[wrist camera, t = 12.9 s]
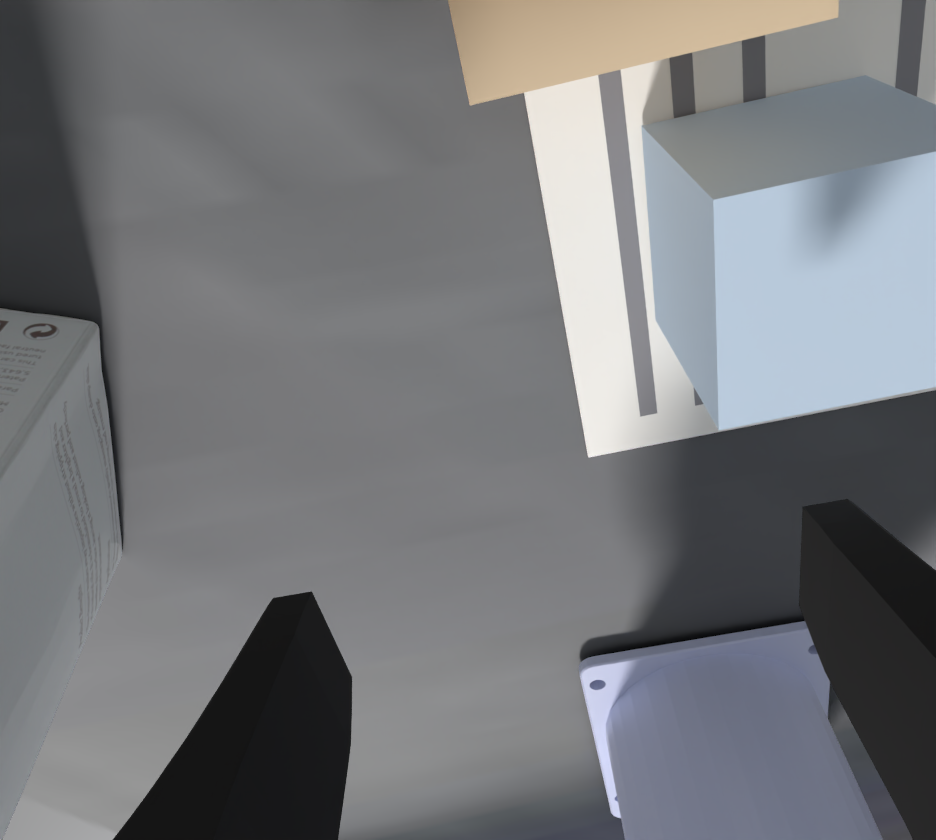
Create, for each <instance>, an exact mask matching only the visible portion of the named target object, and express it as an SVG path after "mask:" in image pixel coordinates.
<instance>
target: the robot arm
mask: <svg viewBox="0 0 936 840" xmlns="http://www.w3.org/2000/svg"><path fill="white" fill-rule="evenodd" d="M799 606H800V609H801V611H802V614H803V617H804V619H805V621H801V622H795V623H789V624H783V625H777V626H772V627H766V628H760V629H754V630H748V631H742V632H736V633H730V634H724V635H718V636H712V637H706V638H700V639H694V640H688V641H682V642H676V643H670V644H664V645H658V646H652V647H646V648H640V649H634V650H628V651H622V652H616V653H610V654H604V655H598V656H592V657H589V658H586V659H585V660H583V661H582V662H581V663H580V665H579V674H580V679H581V683H582V687H583V692H584V696H585V700H586V705H587V709H588V713H589V718H590V722H591V726H592V731H593V735H594V740H595V744H596V748H597V753H598V757H599V761H600V766H601V770H602V774H603V779H604V783H605V787H606V792H607V796H608V800H609V805H610V809H611V813H612V814H613V815H614V816H616V817H618V818H621V820H622V825H623V831H624V836H625V840H883V839H882V836H881V834H880V832H879V830H878V828H877V825H876V823H875V821H874V819H873V817H872V815H871V812H870V810H869V808H868V806H867V804H866V801H865V799H864V797H863V795H862V793H861V790H860V788H859V786H858V784H857V782H856V779H855V777H854V775H853V773H852V771H851V769H850V766H849V764H848V762H847V760H846V758H845V755H844V753H843V751H842V749H841V747H840V744H839V742H838V740H837V738H836V736H835V733H834V731H833V729H832V727H831V725H830V722H829V720H828V706H829V689H830V683H831V684H832V686H833V688H834V690H835V692H836V694H837V696H838V698H839V700H840V702H841V704H842V705H843V707H844V709H845V711H846V713H847V715H848V717H849V719H850V721H851V723H852V724H853V726H854V728H855V730H856V732H857V734H858V736H859V738H860V739H861V741H862V743H863V745H864V747H865V749H866V751H867V753H868V754H869V756H870V758H871V760H872V762H873V764H874V766H875V768H876V769H877V771H878V773H879V775H880V777H881V779H882V781H883V783H884V784H885V786H886V788H887V790H888V792H889V794H890V796H891V798H892V799H893V801H894V803H895V805H896V807H897V809H898V811H899V813H900V814H901V816H902V818H903V820H904V822H905V824H906V826H907V828H908V830H909V832H910V834H911V836H912V838H913V840H936V570H934V569H933V568H932V567H931V566H929V565H928V564H927V563H926V562H924V561H923V560H922V559H921V558H919V557H918V556H917V555H916V554H915V553H913V552H912V551H911V550H910V549H908V548H907V547H906V546H905V545H903V544H902V543H901V542H900V541H899V540H897V539H896V538H895V537H894V536H892V535H891V534H890V533H889V532H888V531H886V530H885V529H884V528H883V527H882V526H880V525H879V524H878V523H877V522H876V521H874V520H873V519H872V518H871V517H870V516H868V515H867V514H866V513H865V512H864V511H862V510H861V509H860V508H859V507H858V506H856V505H855V504H854V503H852V502H851V501H849V500H848V499H845V500H839V501H833V502H828V503H822V504H816V505H810V506H804V507H803V514H802V541H801V568H800V595H799ZM351 719H352V676H351V674H350V672H349V670H348V668H347V666H346V663H345V661H344V659H343V657H342V655H341V653H340V651H339V649H338V646H337V644H336V642H335V640H334V638H333V636H332V634H331V632H330V629H329V627H328V625H327V623H326V621H325V619H324V617H323V614H322V612H321V610H320V608H319V606H318V604H317V602H316V600H315V597H314V595H313V593H312V592H306V593H301V594H295V595H289V596H283V597H277V598H273V599H272V601H271V602H270V603H269V605H268V606H267V608H266V610H265V611H264V613H263V615H262V616H261V618H260V620H259V621H258V623H257V625H256V626H255V628H254V630H253V631H252V633H251V635H250V636H249V638H248V640H247V641H246V643H245V645H244V646H243V648H242V650H241V651H240V653H239V655H238V656H237V658H236V660H235V661H234V663H233V665H232V666H231V668H230V670H229V671H228V673H227V675H226V676H225V678H224V680H223V681H222V683H221V684H220V686H219V688H218V689H217V691H216V692H215V694H214V695H213V697H212V699H211V700H210V702H209V703H208V705H207V707H206V708H205V710H204V711H203V713H202V714H201V716H200V718H199V719H198V721H197V722H196V724H195V725H194V727H193V729H192V730H191V732H190V733H189V735H188V736H187V738H186V739H185V741H184V742H183V744H182V745H181V746H180V748H179V749H178V751H177V752H176V754H175V755H174V757H173V758H172V759H171V761H170V762H169V764H168V765H167V767H166V768H165V770H164V771H163V772H162V774H161V775H160V777H159V778H158V780H157V781H156V783H155V784H154V785H153V787H152V788H151V790H150V791H149V793H148V794H147V795H146V797H145V798H144V799H143V801H142V802H141V803H140V805H139V806H138V807H137V809H136V810H135V811H134V813H133V814H132V816H131V817H130V818H129V819H128V821H127V822H126V823H125V825H124V826H123V827H122V829H121V830H120V831H119V832H118V834H117V835H116V836H115V838H114V839H113V840H338V835H339V828H340V820H341V813H342V806H343V799H344V792H345V784H346V777H347V769H348V762H349V754H350V746H351Z"/></svg>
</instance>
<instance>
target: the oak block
mask: <svg viewBox="0 0 936 840" xmlns="http://www.w3.org/2000/svg"><path fill="white" fill-rule="evenodd" d="M448 3H449V8H450V12H451V17H452V22H453V27H454V32H455V36H456V41H457V46H458V51H459V55H460V60H461V65H462V70H463V75H464V79H465V84H466V89H467V94H468V98H469V103H470V105H474V104H478V103H482V102H487V101H491V100H495V99H499V98H503V97H508V96H512V95H516V94H520V93H524V92H528V91H533V90H537V89H541V88H545V87H549V86H554V85H558V84H562V83H566V82H570V81H574V80H579V79H583V78H587V77H591V76H595V75H600V74H604V73H608V72H612V71H616V70H621V69H625V68H629V67H633V66H637V65H641V64H646V63H650V62H654V61H658V60H662V59H667V58H671V57H675V56H679V55H683V54H687V53H692V52H696V51H700V50H704V49H708V48H713V47H717V46H721V45H725V44H729V43H734V42H738V41H742V40H746V39H750V38H754V37H759V36H763V35H767V34H771V33H775V32H780V31H784V30H788V29H792V28H796V27H800V26H805V25H809V24H813V23H817V22H821V21H826V20H830V19H834V18H838V9H839V0H448Z"/></svg>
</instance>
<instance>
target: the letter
mask: <svg viewBox="0 0 936 840" xmlns="http://www.w3.org/2000/svg"><path fill="white" fill-rule="evenodd" d="M865 75H866V76H869V77H871V78H874V79H876V80H878V81H881V82H883V83H885V84H888V85H890V86H893V87H895V88H897V89H900V90H902V91H904V92H907V93H909V94H912V95H914V96H916V97H919V98H921V99H923V100H926V101H928V102H931V103H933V104H935V105H936V0H839V9H838V18H834V19H830V20H826V21H821V22H817V23H813V24H809V25H805V26H800V27H796V28H792V29H788V30H784V31H780V32H775V33H771V34H767V35H763V36H759V37H754V38H750V39H746V40H742V41H738V42H734V43H729V44H725V45H721V46H717V47H713V48H708V49H704V50H700V51H696V52H692V53H687V54H683V55H679V56H675V57H671V58H667V59H662V60H658V61H654V62H650V63H646V64H641V65H637V66H633V67H629V68H625V69H621V70H616V71H612V72H608V73H604V74H600V75H595V76H591V77H587V78H583V79H579V80H574V81H570V82H566V83H562V84H558V85H554V86H549V87H545V88H541V89H537V90H533V91H528V92H524V96H525V102H526V107H527V113H528V119H529V124H530V130H531V136H532V141H533V147H534V153H535V159H536V164H537V170H538V176H539V181H540V187H541V193H542V198H543V204H544V210H545V215H546V221H547V227H548V232H549V238H550V244H551V249H552V255H553V261H554V266H555V272H556V278H557V283H558V289H559V295H560V301H561V306H562V312H563V318H564V323H565V329H566V335H567V340H568V346H569V352H570V357H571V363H572V369H573V374H574V380H575V386H576V391H577V397H578V403H579V408H580V414H581V420H582V425H583V431H584V437H585V443H586V448H587V454H588V457H593V456H598V455H604V454H609V453H614V452H619V451H624V450H629V449H635V448H640V447H645V446H650V445H655V444H660V443H665V442H671V441H676V440H681V439H686V438H691V437H696V436H702V435H707V434H712V433H717V432H722V431H727V430H733V429H738V428H743V427H748V426H753V425H758V424H763V423H769V422H774V421H779V420H784V419H789V418H794V417H800V416H805V415H810V414H815V413H820V412H825V411H830V410H836V409H841V408H846V407H851V406H856V405H861V404H867V403H872V402H877V401H882V400H887V399H892V398H897V397H903V396H908V395H913V394H918V393H923V392H928V391H934V390H936V387H933V388H928V389H923V390H918V391H913V392H908V393H903V394H898V395H893V396H888V397H883V398H878V399H873V400H868V401H863V402H858V403H854V404H849V405H844V406H839V407H834V408H829V409H824V410H819V411H814V412H809V413H804V414H799V415H794V416H789V417H784V418H779V419H774V420H769V421H764V422H759V423H754V424H749V425H744V426H739V427H734V428H729V429H724V430H718V428H717V427H716V425H715V423H714V421H713V420H712V418H711V416H710V414H709V413H708V411H707V409H706V407H705V406H704V404H703V402H702V400H701V399H700V397H699V395H698V393H697V392H696V390H695V388H694V386H693V385H692V383H691V381H690V379H689V378H688V376H687V374H686V372H685V371H684V369H683V367H682V365H681V364H680V362H679V360H678V358H677V357H676V355H675V353H674V351H673V350H672V348H671V346H670V344H669V343H668V341H667V339H666V337H665V336H664V334H663V332H662V331H661V329H660V327H659V325H658V324H657V322H656V319H655V305H654V291H653V278H652V264H651V250H650V237H649V223H648V210H647V196H646V182H645V169H644V155H643V141H642V128H641V126H642V125H647V124H651V123H656V122H660V121H664V120H669V119H673V118H678V117H682V116H687V115H691V114H696V113H700V112H705V111H709V110H713V109H718V108H722V107H727V106H731V105H736V104H740V103H745V102H749V101H753V100H758V99H762V98H767V97H771V96H776V95H780V94H785V93H789V92H793V91H798V90H802V89H807V88H811V87H816V86H820V85H825V84H829V83H834V82H838V81H842V80H847V79H851V78H856V77H860V76H865Z"/></svg>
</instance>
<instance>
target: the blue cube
mask: <svg viewBox="0 0 936 840" xmlns="http://www.w3.org/2000/svg"><path fill="white" fill-rule="evenodd" d="M641 128H642V141H643V155H644V169H645V182H646V196H647V210H648V223H649V237H650V250H651V264H652V278H653V291H654V305H655V319H656V322H657V324H658V325H659V327H660V329H661V331H662V332H663V334H664V336H665V337H666V339H667V341H668V343H669V344H670V346H671V348H672V350H673V351H674V353H675V355H676V357H677V358H678V360H679V362H680V364H681V365H682V367H683V369H684V371H685V372H686V374H687V376H688V378H689V379H690V381H691V383H692V385H693V386H694V388H695V390H696V392H697V393H698V395H699V397H700V399H701V400H702V402H703V404H704V406H705V407H706V409H707V411H708V413H709V414H710V416H711V418H712V420H713V421H714V423H715V425H716V427H717V428H718V430H724V429H729V428H734V427H739V426H744V425H749V424H754V423H759V422H764V421H769V420H774V419H779V418H784V417H789V416H794V415H799V414H804V413H809V412H814V411H819V410H824V409H829V408H834V407H839V406H844V405H849V404H854V403H858V402H863V401H868V400H873V399H878V398H883V397H888V396H893V395H898V394H903V393H908V392H913V391H918V390H923V389H928V388H933V387H936V105H935V104H933V103H931V102H928V101H926V100H923V99H921V98H919V97H916V96H914V95H912V94H909V93H907V92H904V91H902V90H900V89H897V88H895V87H893V86H890V85H888V84H885V83H883V82H881V81H878V80H876V79H874V78H871V77H869V76H866V75H865V76H860V77H856V78H851V79H847V80H842V81H838V82H834V83H829V84H825V85H820V86H816V87H811V88H807V89H802V90H798V91H793V92H789V93H785V94H780V95H776V96H771V97H767V98H762V99H758V100H753V101H749V102H745V103H740V104H736V105H731V106H727V107H722V108H718V109H713V110H709V111H705V112H700V113H696V114H691V115H687V116H682V117H678V118H673V119H669V120H664V121H660V122H656V123H651V124H647V125H642V126H641Z"/></svg>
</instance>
